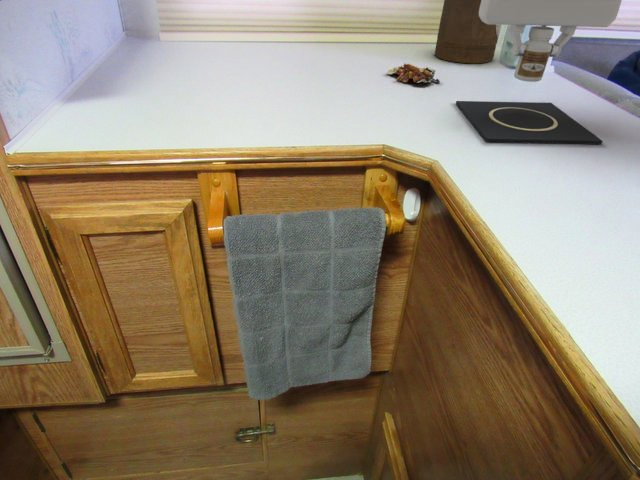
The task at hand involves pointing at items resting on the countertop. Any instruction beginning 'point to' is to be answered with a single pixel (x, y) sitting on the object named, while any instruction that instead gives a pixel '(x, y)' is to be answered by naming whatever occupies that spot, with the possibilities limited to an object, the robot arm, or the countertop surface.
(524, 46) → the robot arm
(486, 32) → the wooden container
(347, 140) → the countertop surface
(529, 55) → the pill bottle
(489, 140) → the mat
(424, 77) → the reddish brown crumpled piece
